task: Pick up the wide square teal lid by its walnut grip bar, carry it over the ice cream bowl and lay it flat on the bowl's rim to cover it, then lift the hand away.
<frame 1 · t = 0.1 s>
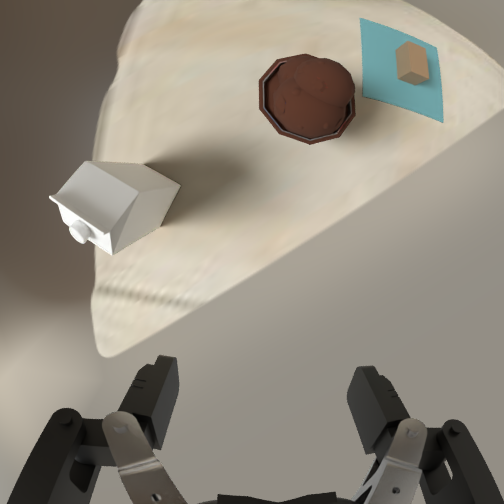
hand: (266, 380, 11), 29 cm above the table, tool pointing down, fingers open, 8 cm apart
milk carton: (151, 195, 38), on the table
lid: (403, 68, 32), on the table
ice cream bowl: (295, 114, 34), on the table
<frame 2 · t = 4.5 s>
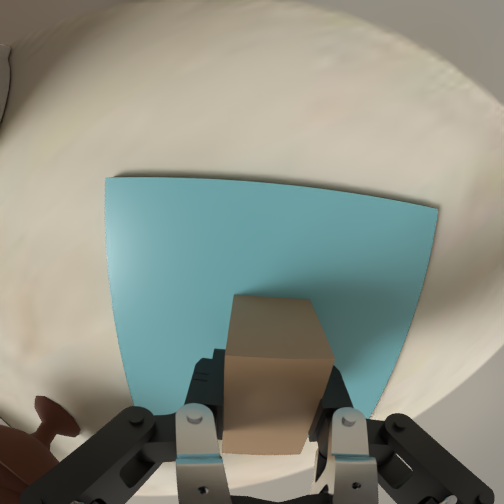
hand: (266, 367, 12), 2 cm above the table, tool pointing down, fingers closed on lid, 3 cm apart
lid: (264, 341, 14), on the table, touching gripper
ice cream bowl: (57, 415, 17), on the table
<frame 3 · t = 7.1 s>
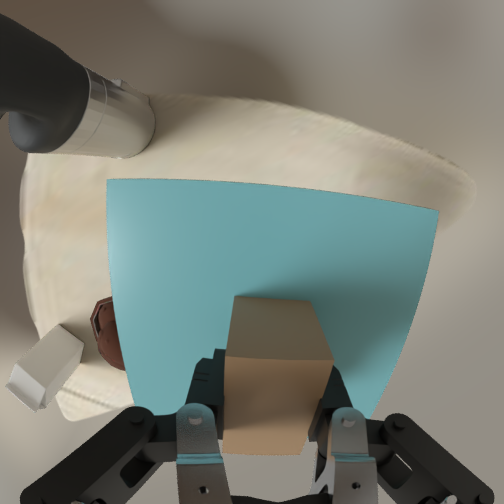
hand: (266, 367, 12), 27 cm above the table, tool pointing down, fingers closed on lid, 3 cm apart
milk carton: (69, 343, 44), on the table
lid: (265, 342, 14), point 25 cm above the table, touching gripper
ice cream bowl: (148, 303, 41), on the table
when the fingers open (18 cm above the table, at t = 10.1 s): lid stays where it is, resting on ice cream bowl.
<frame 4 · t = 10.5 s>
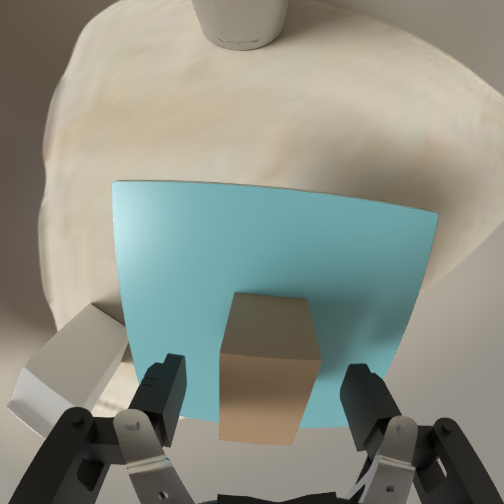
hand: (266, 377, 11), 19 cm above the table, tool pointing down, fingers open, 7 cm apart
milk carton: (106, 333, 33), on the table
lid: (264, 335, 15), point 15 cm above the table, touching ice cream bowl
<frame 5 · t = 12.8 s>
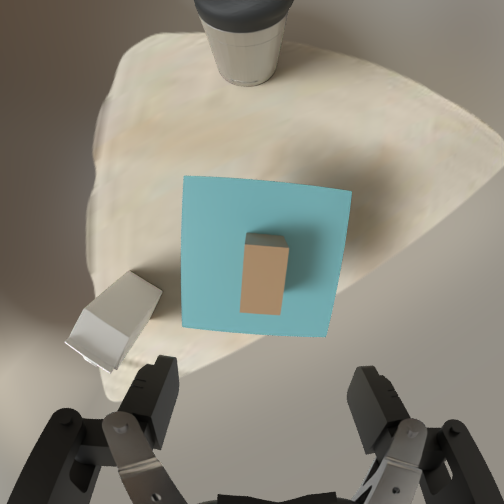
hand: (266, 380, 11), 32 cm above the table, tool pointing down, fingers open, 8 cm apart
milk carton: (139, 295, 45), on the table
lid: (261, 261, 27), point 15 cm above the table, touching ice cream bowl
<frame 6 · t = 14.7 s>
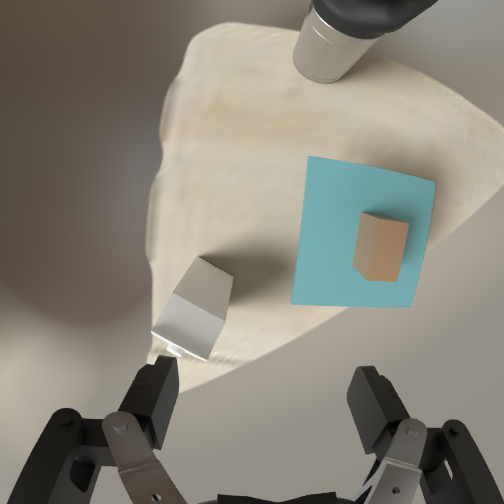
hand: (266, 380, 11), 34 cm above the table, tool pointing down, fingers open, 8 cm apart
milk carton: (206, 282, 47), on the table
lid: (368, 239, 29), point 15 cm above the table, touching ice cream bowl
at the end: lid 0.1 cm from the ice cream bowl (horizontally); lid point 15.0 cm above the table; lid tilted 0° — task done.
